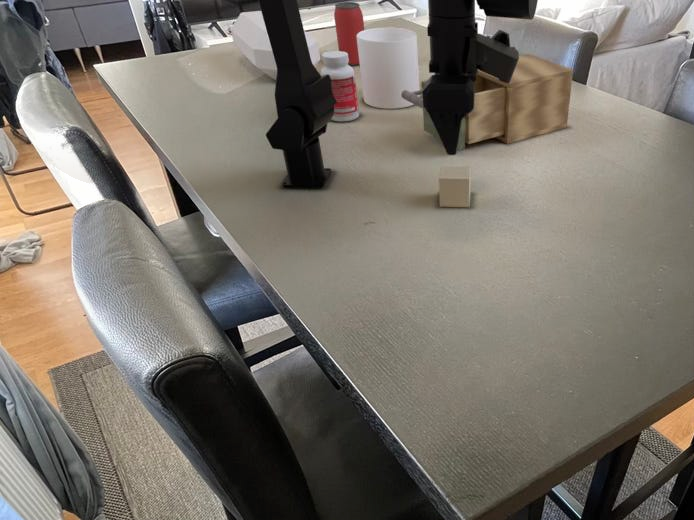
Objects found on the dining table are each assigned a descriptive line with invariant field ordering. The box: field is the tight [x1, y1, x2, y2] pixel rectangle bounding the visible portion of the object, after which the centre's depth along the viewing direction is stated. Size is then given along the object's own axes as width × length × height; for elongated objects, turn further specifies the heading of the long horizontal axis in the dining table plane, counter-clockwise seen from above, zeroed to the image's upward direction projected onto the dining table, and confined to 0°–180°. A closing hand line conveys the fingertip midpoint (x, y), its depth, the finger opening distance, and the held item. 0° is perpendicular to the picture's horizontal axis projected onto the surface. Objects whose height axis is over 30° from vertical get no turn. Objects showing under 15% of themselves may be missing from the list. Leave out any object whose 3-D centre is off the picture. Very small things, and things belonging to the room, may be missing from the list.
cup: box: [357, 26, 421, 110], centre depth 118 cm, size 12×12×12 cm
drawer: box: [401, 75, 507, 151], centre depth 103 cm, size 19×11×8 cm, turn 126°
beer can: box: [333, 1, 365, 66], centre depth 138 cm, size 7×7×12 cm
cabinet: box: [477, 53, 574, 145], centre depth 109 cm, size 15×13×10 cm
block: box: [438, 165, 471, 208], centre depth 87 cm, size 4×4×4 cm
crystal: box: [230, 10, 321, 82], centre depth 135 cm, size 14×10×28 cm
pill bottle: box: [320, 50, 360, 122], centre depth 111 cm, size 6×6×11 cm
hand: (453, 141), depth 83 cm, fingers open, 9 cm apart
